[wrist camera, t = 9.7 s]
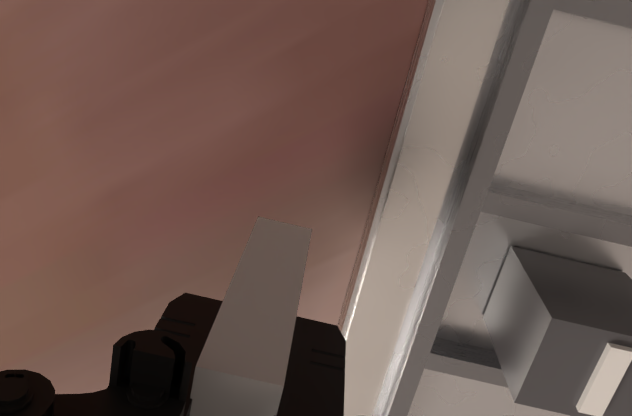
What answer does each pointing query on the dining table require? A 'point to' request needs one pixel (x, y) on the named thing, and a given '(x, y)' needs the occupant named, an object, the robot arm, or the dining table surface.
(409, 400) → the panel
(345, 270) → the dining table surface
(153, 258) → the dining table surface
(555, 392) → the breaker mid
